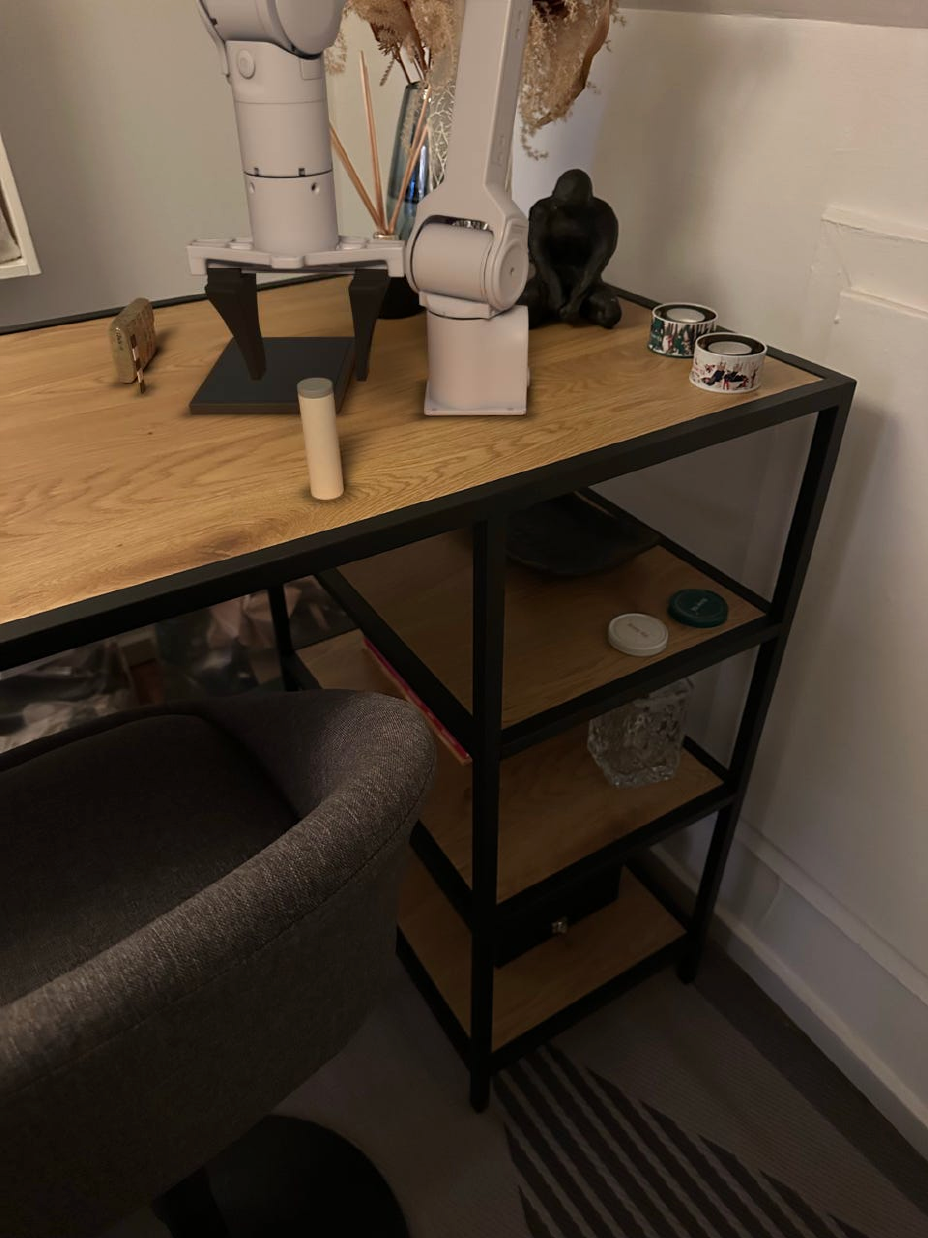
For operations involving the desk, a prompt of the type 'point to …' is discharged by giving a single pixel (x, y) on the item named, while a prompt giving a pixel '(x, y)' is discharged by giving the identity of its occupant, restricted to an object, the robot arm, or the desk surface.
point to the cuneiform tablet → (133, 340)
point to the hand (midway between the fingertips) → (310, 375)
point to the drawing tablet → (275, 376)
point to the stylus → (321, 437)
